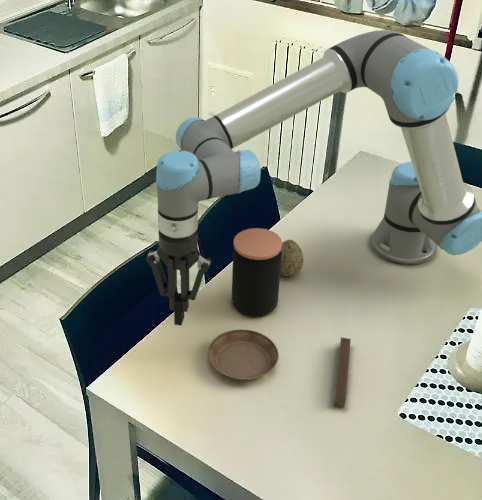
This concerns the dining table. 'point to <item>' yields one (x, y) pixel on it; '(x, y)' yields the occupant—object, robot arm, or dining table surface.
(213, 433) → the dining table surface
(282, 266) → the decorative egg
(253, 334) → the saucer
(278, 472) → the dining table surface
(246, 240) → the coffee jar
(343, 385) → the walnut batten
